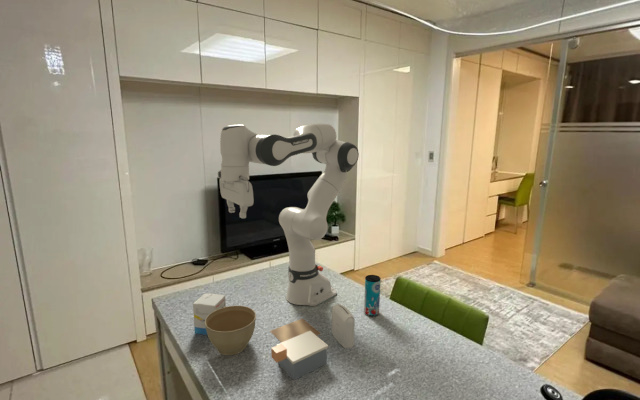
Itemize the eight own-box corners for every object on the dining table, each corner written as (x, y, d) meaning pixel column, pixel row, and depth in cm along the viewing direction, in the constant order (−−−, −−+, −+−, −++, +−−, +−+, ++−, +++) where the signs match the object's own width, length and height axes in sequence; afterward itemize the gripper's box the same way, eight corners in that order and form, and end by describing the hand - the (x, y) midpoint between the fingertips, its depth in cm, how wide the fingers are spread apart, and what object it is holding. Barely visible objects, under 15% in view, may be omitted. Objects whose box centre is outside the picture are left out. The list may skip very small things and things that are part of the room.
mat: (302, 319, 127) (302, 318, 127) (321, 334, 118) (321, 333, 118) (269, 332, 119) (269, 331, 119) (287, 349, 110) (287, 348, 110)
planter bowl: (264, 336, 117) (263, 307, 115) (244, 366, 102) (243, 334, 100) (221, 330, 120) (220, 302, 118) (196, 359, 105) (194, 328, 103)
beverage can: (370, 318, 129) (372, 282, 126) (360, 311, 134) (362, 276, 131) (382, 314, 132) (383, 278, 129) (372, 307, 137) (373, 273, 134)
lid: (310, 335, 109) (310, 324, 108) (328, 350, 102) (328, 338, 101) (266, 354, 100) (265, 342, 99) (282, 372, 92) (282, 359, 92)
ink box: (216, 336, 117) (214, 306, 114) (194, 333, 118) (191, 303, 116) (227, 323, 125) (225, 294, 123) (206, 320, 127) (204, 292, 124)
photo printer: (330, 334, 118) (330, 302, 116) (340, 331, 120) (341, 299, 118) (344, 351, 109) (345, 316, 107) (355, 347, 111) (356, 313, 109)
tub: (309, 349, 110) (309, 333, 109) (326, 365, 103) (326, 347, 102) (277, 364, 103) (277, 347, 102) (293, 381, 96) (293, 363, 94)
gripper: (257, 177, 104) (259, 220, 107) (233, 171, 120) (234, 208, 123) (238, 178, 100) (240, 223, 103) (215, 172, 117) (217, 210, 119)
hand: (237, 215), depth 113 cm, fingers open, 8 cm apart
